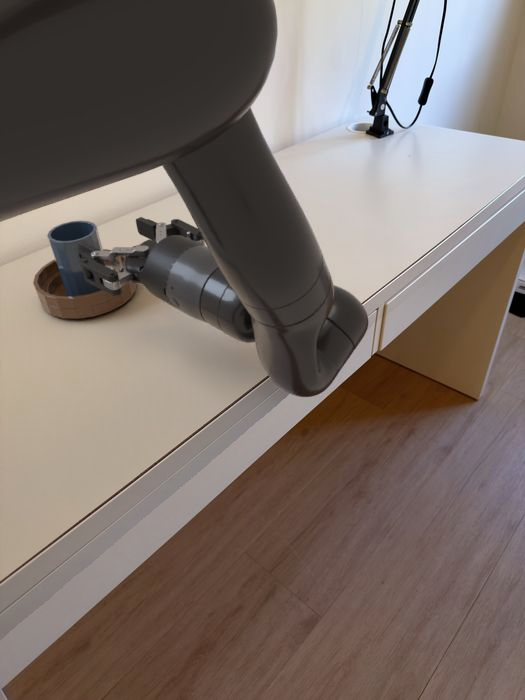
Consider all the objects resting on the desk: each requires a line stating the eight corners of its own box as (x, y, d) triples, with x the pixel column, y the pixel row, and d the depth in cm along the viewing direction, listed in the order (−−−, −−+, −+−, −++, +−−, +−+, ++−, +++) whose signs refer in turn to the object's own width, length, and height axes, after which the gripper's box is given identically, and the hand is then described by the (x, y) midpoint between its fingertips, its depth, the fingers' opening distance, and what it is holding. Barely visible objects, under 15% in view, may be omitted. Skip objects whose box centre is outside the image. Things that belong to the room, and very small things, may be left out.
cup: (73, 308, 77) (53, 247, 70) (62, 287, 81) (43, 228, 75) (117, 294, 79) (102, 233, 73) (105, 275, 84) (89, 216, 77)
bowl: (53, 333, 73) (45, 310, 71) (33, 287, 83) (25, 265, 80) (150, 302, 78) (145, 278, 76) (120, 262, 88) (115, 240, 86)
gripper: (240, 225, 59) (151, 190, 68) (136, 276, 51) (51, 229, 60) (244, 282, 64) (160, 242, 72) (149, 337, 56) (68, 285, 65)
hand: (111, 236), depth 66 cm, fingers open, 8 cm apart
